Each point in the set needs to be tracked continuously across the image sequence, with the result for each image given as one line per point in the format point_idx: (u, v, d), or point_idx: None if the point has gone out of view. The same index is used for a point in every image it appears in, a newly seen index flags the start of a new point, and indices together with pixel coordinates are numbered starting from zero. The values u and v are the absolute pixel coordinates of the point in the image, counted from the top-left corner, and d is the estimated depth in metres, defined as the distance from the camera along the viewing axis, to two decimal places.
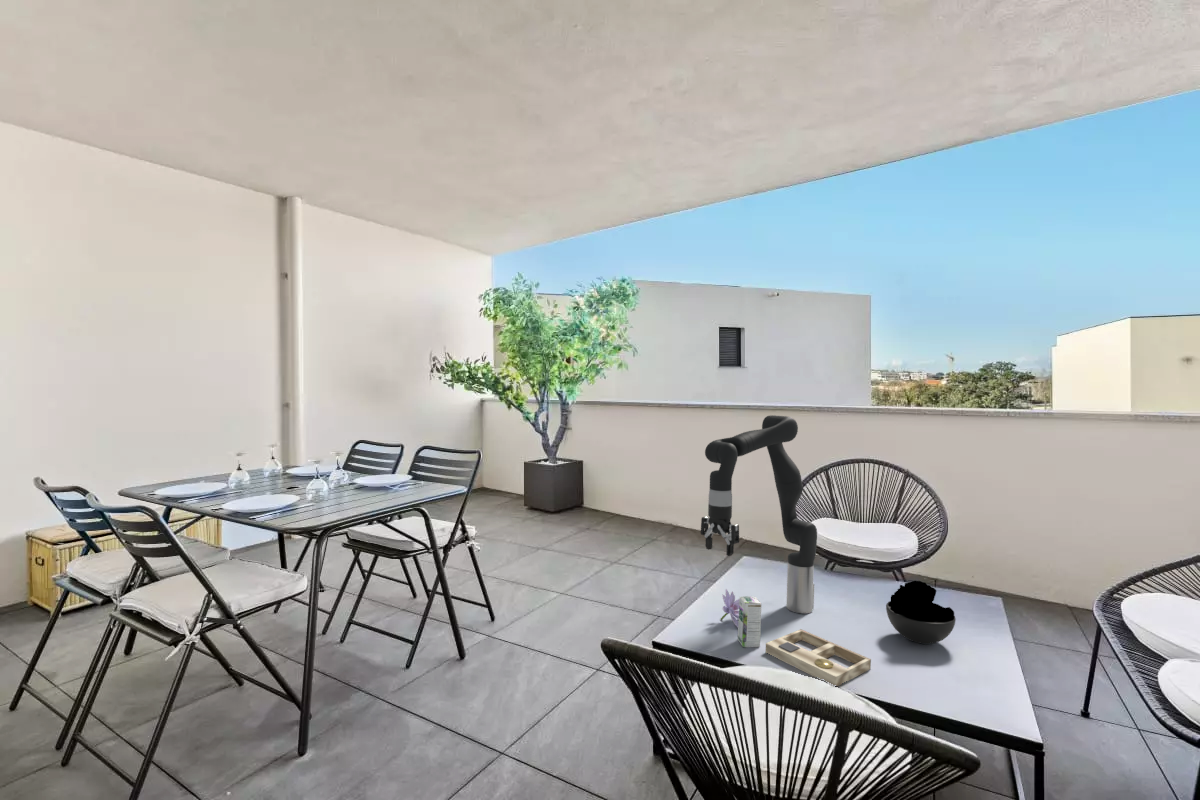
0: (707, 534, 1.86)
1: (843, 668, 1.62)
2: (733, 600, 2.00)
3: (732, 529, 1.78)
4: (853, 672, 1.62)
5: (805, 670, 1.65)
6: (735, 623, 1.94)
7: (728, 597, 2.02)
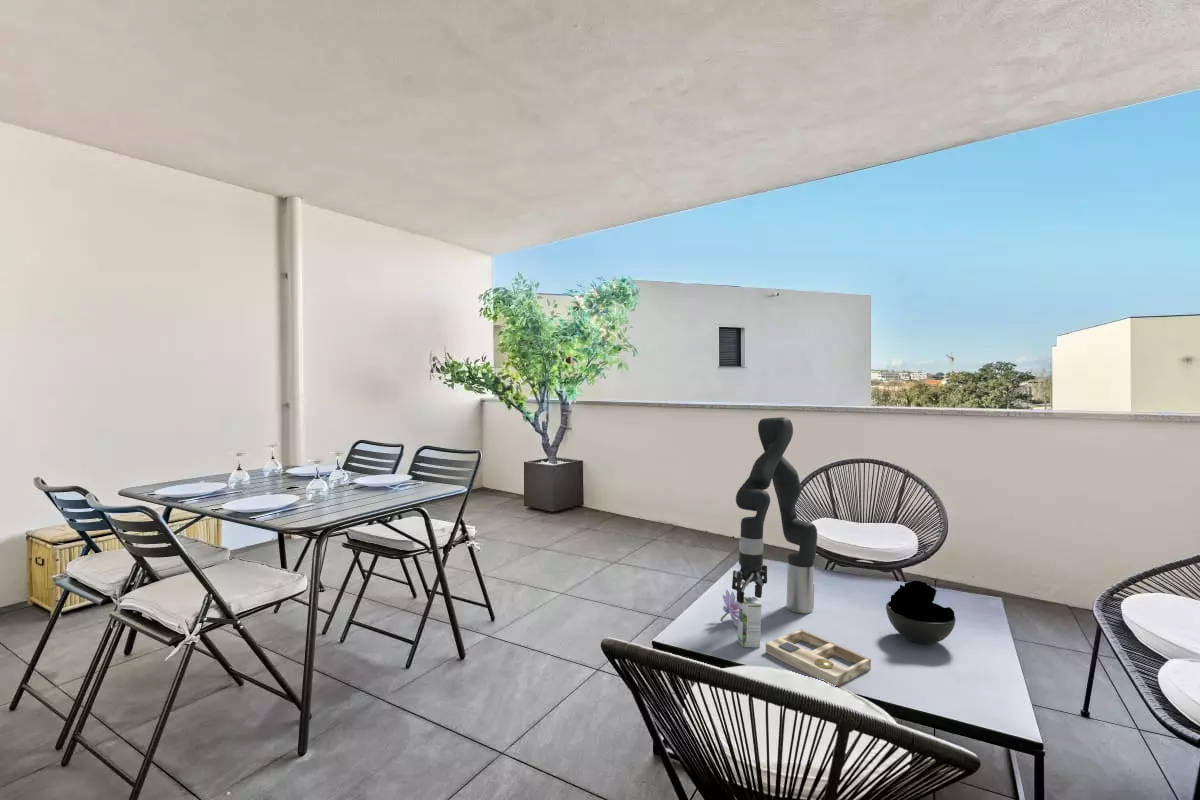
0: (744, 587, 1.79)
1: (843, 668, 1.62)
2: (733, 600, 2.00)
3: (765, 569, 1.84)
4: (853, 672, 1.62)
5: (805, 670, 1.65)
6: (735, 623, 1.94)
7: (728, 597, 2.02)
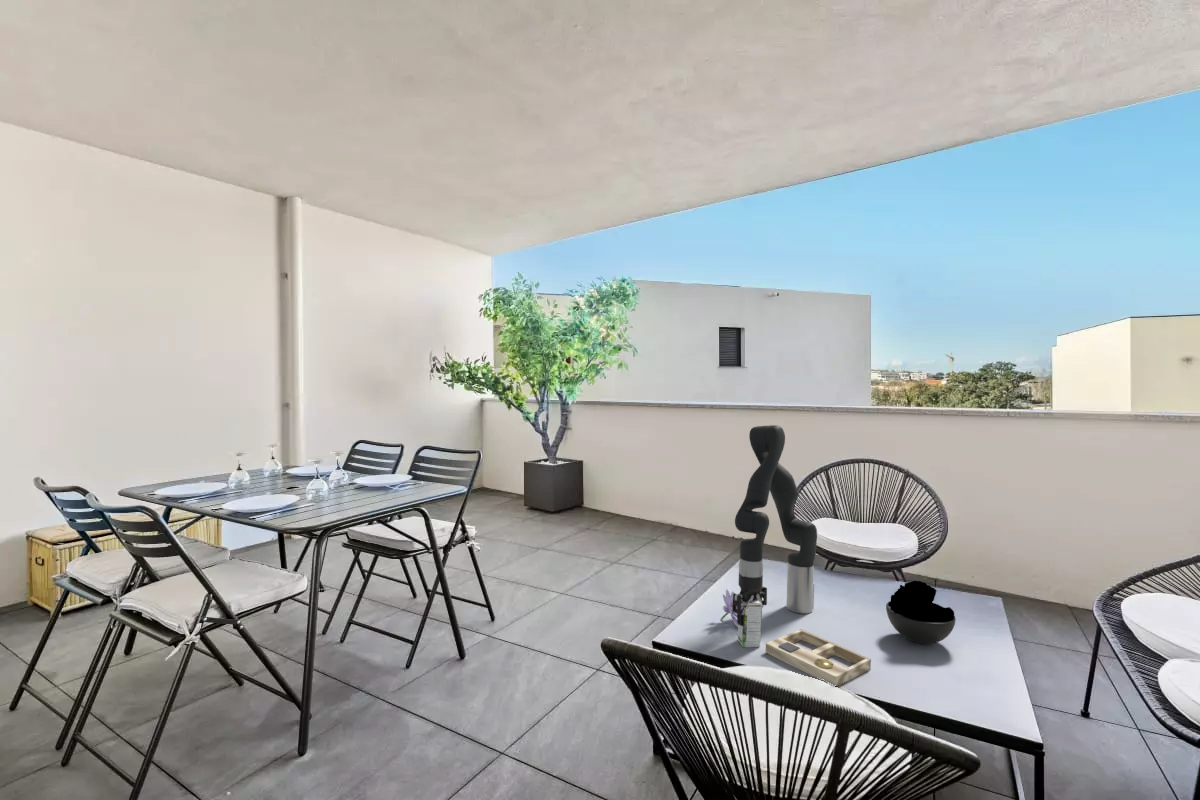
0: (744, 610, 1.79)
1: (843, 668, 1.62)
2: None
3: (765, 591, 1.85)
4: (853, 672, 1.62)
5: (805, 670, 1.65)
6: (735, 623, 1.94)
7: (728, 597, 2.02)
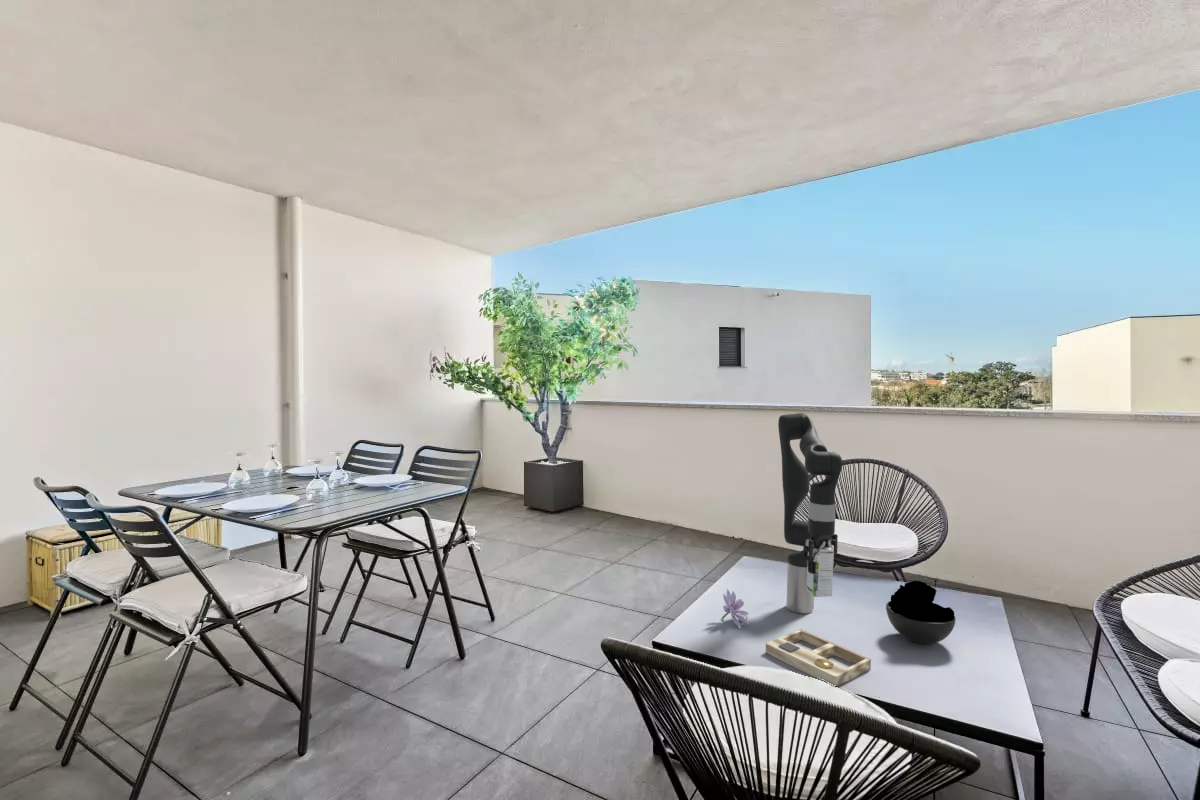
0: (816, 557, 1.68)
1: (843, 668, 1.62)
2: (734, 600, 2.01)
3: (836, 538, 1.73)
4: (853, 672, 1.62)
5: (805, 670, 1.65)
6: (735, 623, 1.94)
7: (729, 597, 2.02)
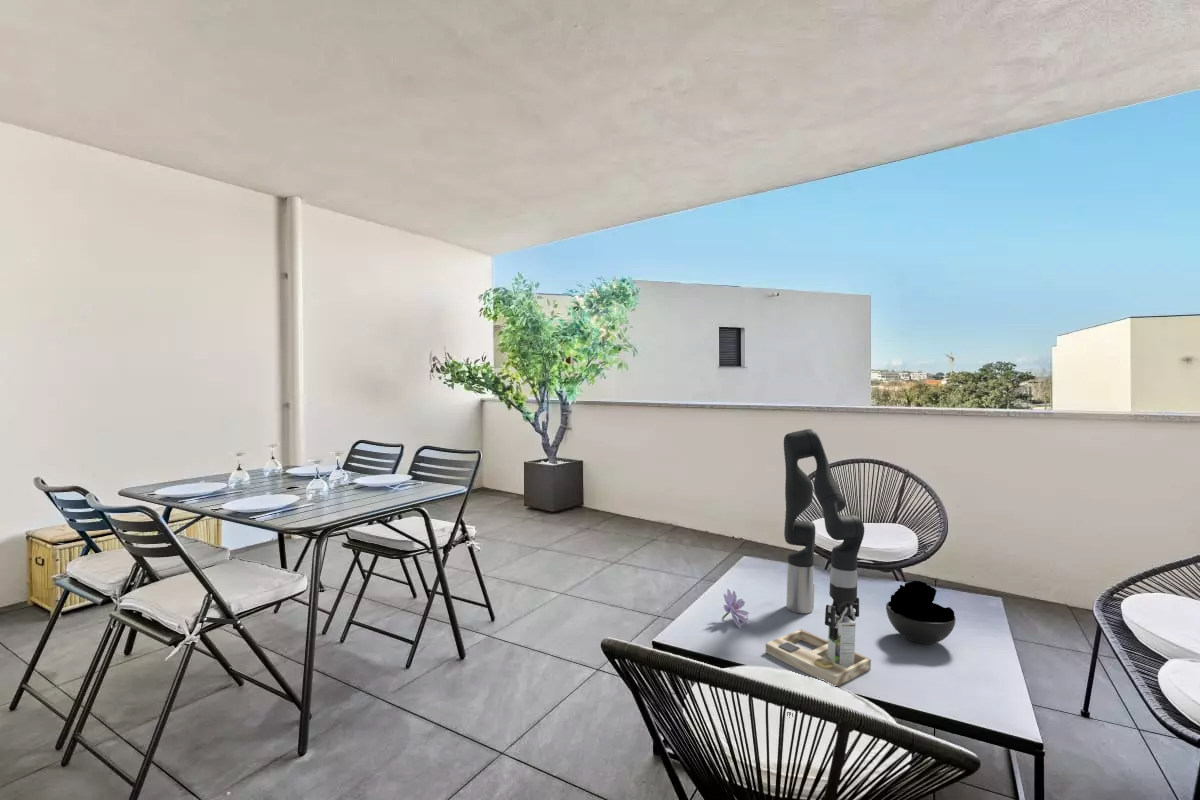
0: (838, 623, 1.65)
1: (843, 668, 1.62)
2: (735, 599, 2.01)
3: (858, 602, 1.71)
4: (853, 672, 1.62)
5: (805, 670, 1.65)
6: (736, 622, 1.95)
7: (730, 596, 2.03)
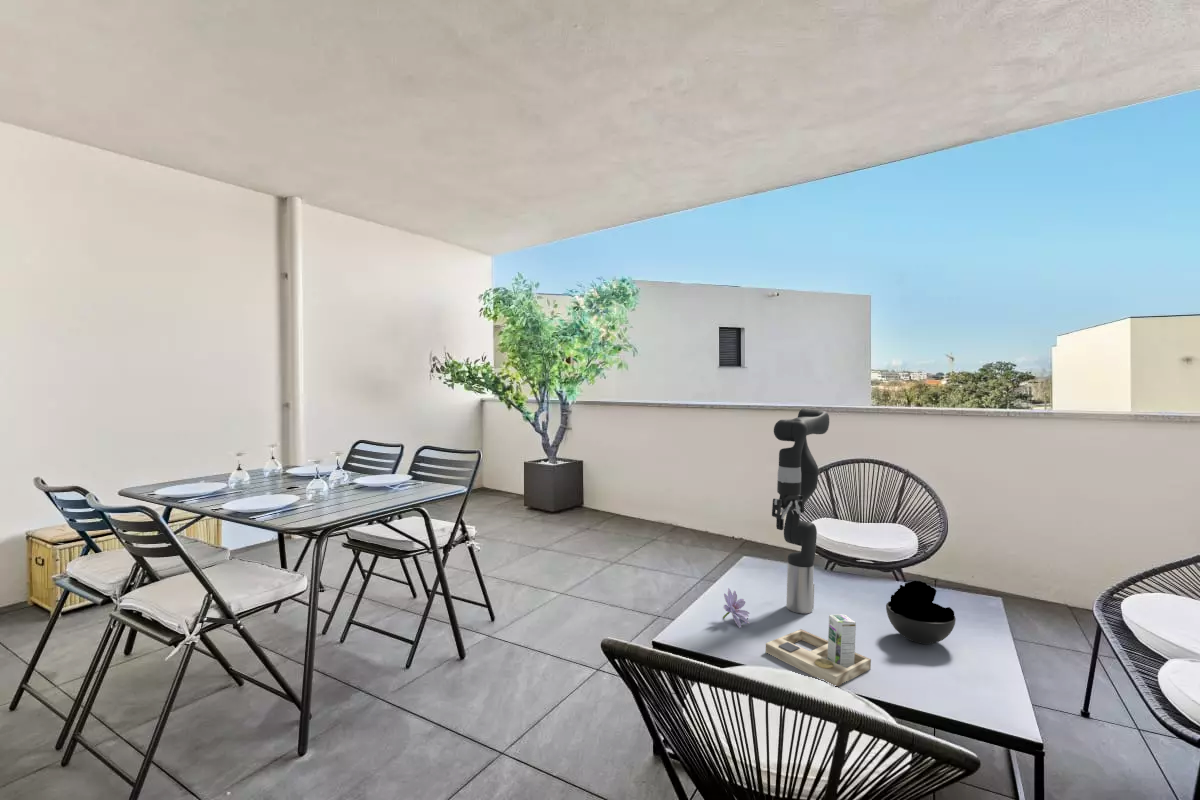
0: (783, 514, 1.85)
1: (843, 668, 1.62)
2: (735, 599, 2.01)
3: (803, 499, 1.91)
4: (853, 672, 1.62)
5: (805, 670, 1.65)
6: (736, 622, 1.95)
7: (730, 596, 2.03)
